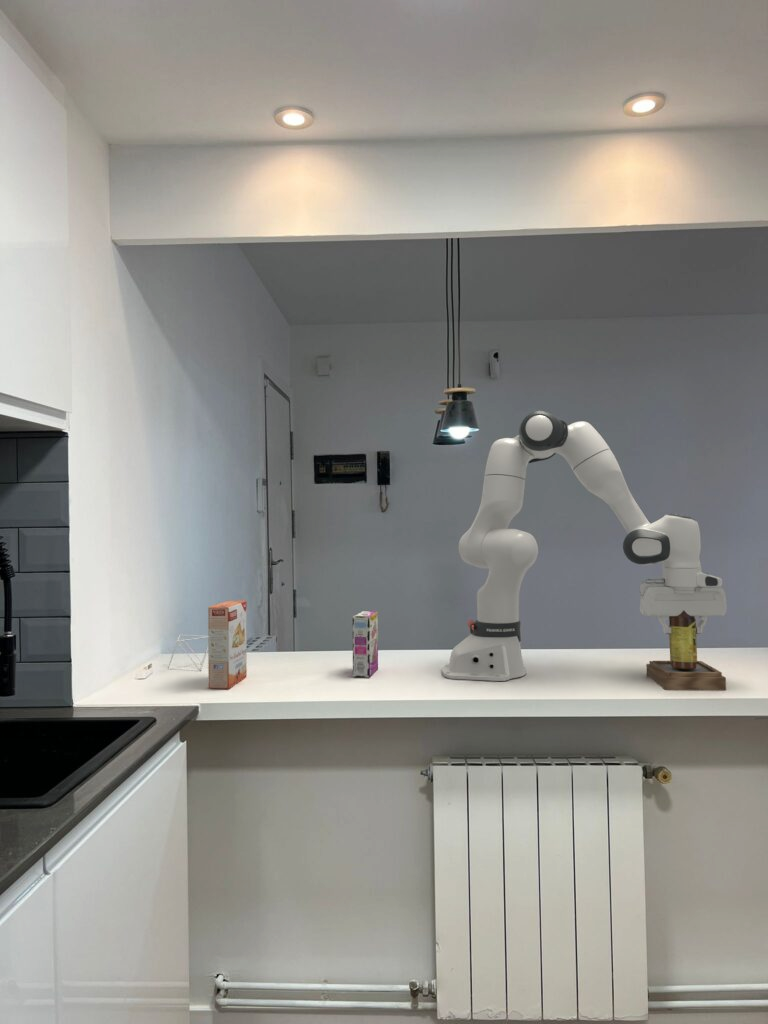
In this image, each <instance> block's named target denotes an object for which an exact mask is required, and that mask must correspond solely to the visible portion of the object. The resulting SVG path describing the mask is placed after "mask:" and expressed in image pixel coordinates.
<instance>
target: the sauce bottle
mask: <svg viewBox="0 0 768 1024" xmlns="http://www.w3.org/2000/svg"><path fill="white" fill-rule="evenodd" d="M668 618H669V620H668V621H669V622H668V623H669V625H668V626H669V627H671V629H672V630H671V632H672V633H671V634H668V636H669V637H668V639H669V661H671V666H672V667H674V668H677V669H694V668H696V667H697V664H696V662H697V661H698V647H697V646H698V643H697V634H696V626H697V623H696V616H690V615H688V614H687V613H686V612H685V611H684V610H683V612H682V613H681V614H679V615H678V616H668Z"/></svg>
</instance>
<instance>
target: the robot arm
mask: <svg viewBox="0 0 768 1024" xmlns="http://www.w3.org/2000/svg"><path fill="white" fill-rule="evenodd" d="M556 454H558V455H559V456H562V457H563V458H564V459H565V461H566V462H567V464H568V465H569V467H570V468H571V470H572V471H573V473H574V476H576V477H575V478H577V480H578V481H579V482H580V483H581V485H583V487H584V488H585V489H586V490H587V491H588V492H589V493H591V494H593V495H594V496H596V497H598V498H600V499H601V500H602V501H604V502H605V503H606V504H607V505H608V506H609V507H610V509H611V510H612V512H613V513H614V514H615V516H616V517H617V519H618V520H619V522H620V523H621V525H622V526H623V528H624V530H625V531H626V533H627V535H625V538H624V539H623V543H622V549H623V554H624V555H625V557H626V558H627V559H628V560H629V561H630V562H632V563H633V564H636V565H640V566H649V565H654V564H657V563H661V564H662V578H647V579H645V580H643V581H641V582H640V584H639V595H640V600H639V601H640V602H639V603H640V604H639V611H640V613H641V615H643V616H645V617H658V618H657V619H658V621H659V623H660V624H661V625H662V631H663V635H669V634H671V633H672V632H671V630H672V629H671V627H669V625H667V622H666V621H667V620H668V617H669V616H678V615H679V614H681V613H682V612H683V610H684V611H685V612H686V613H687V614H688V615H690V616H694V617H698V620H700V621H698V624H697V625H696V635H703V633H704V627H705V626H706V624H707V621H708V617H724V616H725V615H726V614H727V608H728V605H727V598H726V593H725V590H724V588H722V585H723V579H722V578H721V577H718V576H715V575H711V574H709V573H708V572H702V565H701V562H700V561H701V560H700V556H701V555H700V554H701V550H702V544H701V532H700V531H701V530H700V527H699V523H698V521H697V520H696V519H695V518H694V517H692V516H690V515H689V516H688V515H685V514H679V513H678V514H677V513H667V514H664V516H663V517H661V518H659V519H658V520H655V521H654V522H652V521H650V520H649V519H648V518H647V516H646V515H645V513H644V512H643V510H642V508H641V507H640V505H639V504H638V502H637V500H636V499H635V498H634V496H633V494H632V493H631V491H630V489H629V487H628V485H627V482H626V479H625V477H624V475H623V472H622V470H621V467H620V465H619V462H618V460H617V458H616V456H615V454H614V453H613V451H612V450H611V448H610V446H609V445H608V443H607V442H606V441H605V439H604V438H603V437H602V435H601V434H600V433H599V432H598V431H597V430H596V428H594V426H593V425H592V424H591V423H590V422H588V421H583V420H582V421H575V422H572V423H571V424H567V421H565V420H563V419H561V418H559V417H558V416H555V415H554V414H552V413H550V412H548V411H544V410H536V411H532V412H530V413H528V414H527V415H526V416H525V417H524V418H523V419H522V420H521V422H520V424H519V428H518V435H516V436H515V437H512V438H511V437H504V438H500V439H496V440H495V441H494V442H493V443H492V445H491V446H490V449H489V452H488V456H487V460H486V465H485V470H484V477H483V479H484V480H483V486H482V493H481V501H480V505H479V508H478V511H477V512H476V516H475V518H474V519H473V522H472V524H471V526H470V528H469V529H467V531H466V532H465V533H464V534H463V535H462V536H461V537H460V539H459V542H458V554H459V556H460V558H461V559H462V561H463V562H464V563H466V564H468V565H471V566H473V567H476V568H479V569H488V576H487V578H486V581H485V583H484V584H483V585H482V586H481V587H480V588H479V589H478V590H477V593H476V602H477V603H476V605H477V607H476V608H477V613H476V614H477V616H476V617H477V619H476V620H475V621H474V620H473V619H471V620H469V621H468V622H467V627H468V628H469V632H470V634H469V635H468V636H467V637H465V638H464V639H463V640H462V641H461V642H459V643H458V644H457V645H455V646H454V647H453V649H452V651H451V653H450V657H449V663H448V664H444V665H443V666H442V668H441V674H442V676H443V677H444V678H447V679H451V680H452V679H453V680H473V681H494V682H507V681H508V680H511V679H516V678H520V677H523V676H526V674H527V670H526V668H525V663H524V661H523V656H522V649H521V641H522V624H521V620H520V610H519V609H520V608H519V607H520V590H521V587H522V586H521V585H522V582H523V580H524V577H525V575H526V573H527V571H528V570H529V569H530V568H531V567H532V566H533V565H534V563H535V562H536V560H537V558H538V555H539V546H538V543H537V540H536V538H535V536H534V535H533V534H531V533H530V532H527V531H523V530H520V529H518V528H509V525H510V523H511V521H512V520H513V518H515V516H516V515H518V514H519V512H520V511H521V510H522V508H523V504H524V496H525V494H524V493H525V485H526V477H527V468H528V464H532V463H536V462H541V461H546V460H549V459H551V458H553V457H554V456H555V455H556Z"/></svg>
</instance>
